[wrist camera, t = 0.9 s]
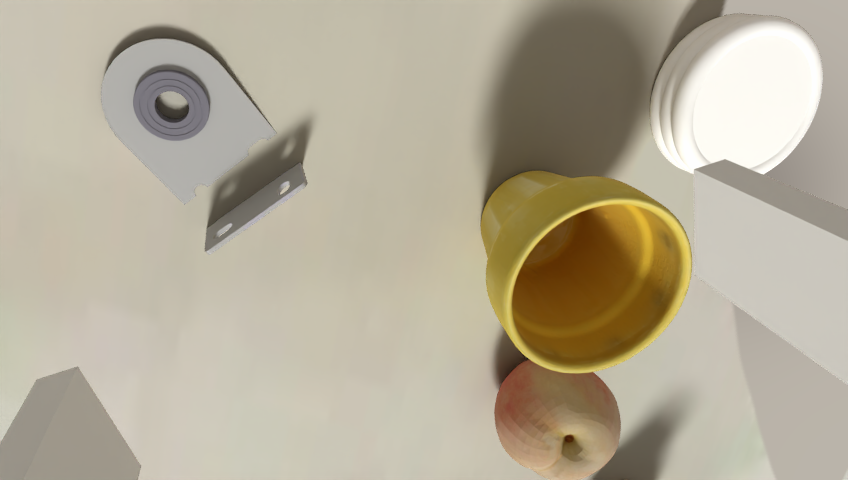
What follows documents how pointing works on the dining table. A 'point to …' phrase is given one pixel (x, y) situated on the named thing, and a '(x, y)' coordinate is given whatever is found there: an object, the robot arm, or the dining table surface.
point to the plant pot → (582, 268)
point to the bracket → (191, 127)
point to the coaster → (737, 93)
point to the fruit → (557, 421)
